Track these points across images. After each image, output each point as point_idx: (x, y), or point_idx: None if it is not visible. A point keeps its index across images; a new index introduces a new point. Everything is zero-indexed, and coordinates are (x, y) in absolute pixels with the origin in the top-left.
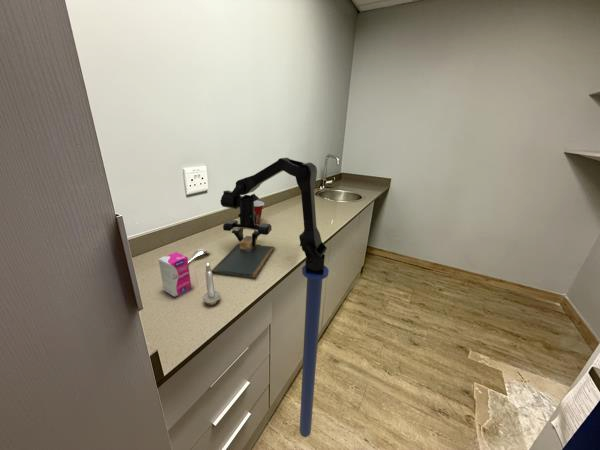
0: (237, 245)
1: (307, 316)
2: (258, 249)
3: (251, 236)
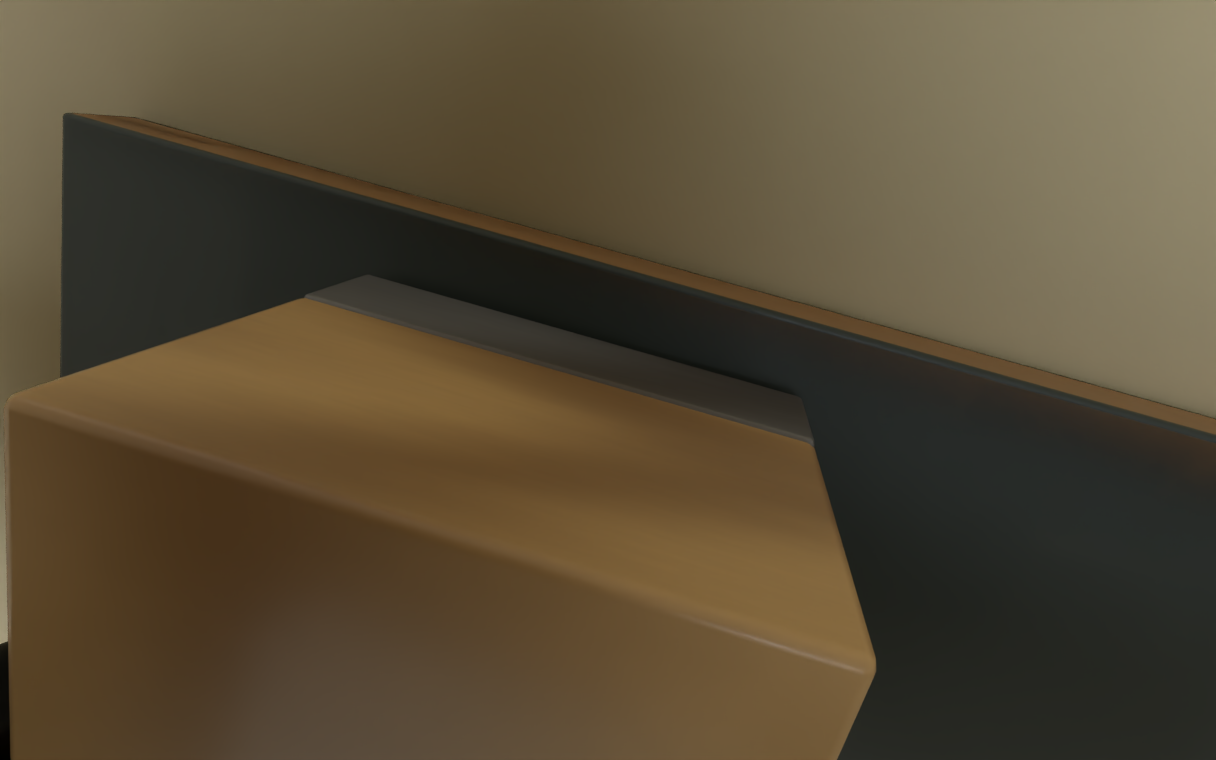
0: (83, 348)
1: None
2: (891, 724)
3: (464, 592)
